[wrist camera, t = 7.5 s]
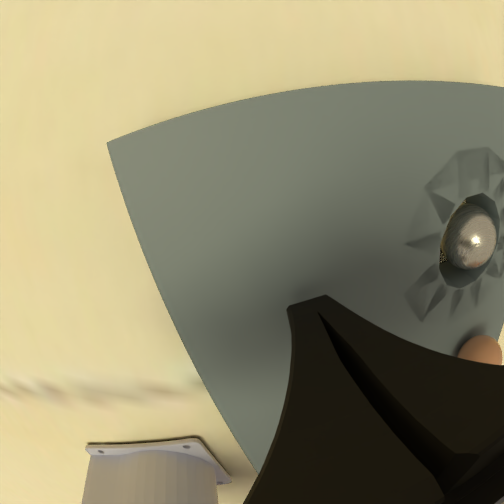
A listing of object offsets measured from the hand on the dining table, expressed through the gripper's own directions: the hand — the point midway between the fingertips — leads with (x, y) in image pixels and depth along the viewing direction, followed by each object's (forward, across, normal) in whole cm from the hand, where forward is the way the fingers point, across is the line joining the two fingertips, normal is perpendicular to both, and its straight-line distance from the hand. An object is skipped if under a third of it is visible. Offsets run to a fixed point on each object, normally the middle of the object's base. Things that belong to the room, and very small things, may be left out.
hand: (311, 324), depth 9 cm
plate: (+4, -4, +3) cm, 7 cm away
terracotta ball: (0, -10, +7) cm, 12 cm away
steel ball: (+2, -9, 0) cm, 9 cm away
